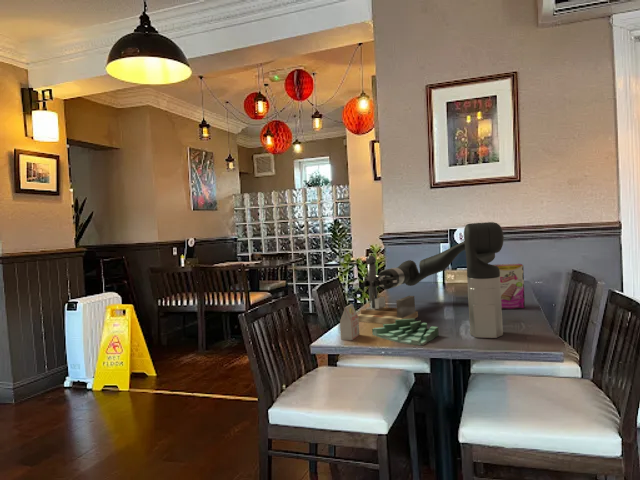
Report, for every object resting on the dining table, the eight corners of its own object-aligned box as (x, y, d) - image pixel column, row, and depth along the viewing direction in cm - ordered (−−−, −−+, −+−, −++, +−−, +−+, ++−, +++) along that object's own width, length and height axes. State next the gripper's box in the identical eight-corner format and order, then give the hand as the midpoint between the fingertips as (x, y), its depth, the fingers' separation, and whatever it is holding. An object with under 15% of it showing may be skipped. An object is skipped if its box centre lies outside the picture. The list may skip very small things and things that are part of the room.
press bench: (355, 321, 170) (354, 299, 170) (375, 313, 181) (373, 293, 181) (400, 325, 159) (398, 301, 159) (417, 316, 170) (416, 295, 170)
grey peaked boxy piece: (341, 339, 145) (339, 307, 144) (348, 334, 151) (346, 303, 150) (352, 340, 143) (350, 307, 143) (359, 334, 149) (357, 303, 149)
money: (444, 334, 145) (443, 318, 145) (422, 347, 132) (421, 330, 132) (386, 329, 157) (385, 314, 156) (361, 340, 143) (360, 325, 143)
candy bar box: (494, 309, 174) (492, 265, 173) (491, 307, 179) (488, 264, 178) (526, 308, 173) (523, 264, 172) (521, 305, 178) (519, 263, 177)
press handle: (366, 313, 172) (362, 256, 172) (373, 310, 176) (369, 254, 176) (379, 314, 169) (375, 255, 168) (386, 311, 173) (382, 254, 172)
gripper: (375, 268, 188) (351, 273, 174) (406, 268, 180) (384, 274, 166) (376, 287, 188) (352, 293, 175) (408, 288, 180) (385, 295, 166)
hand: (368, 284), depth 170 cm, fingers closed on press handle, 3 cm apart
